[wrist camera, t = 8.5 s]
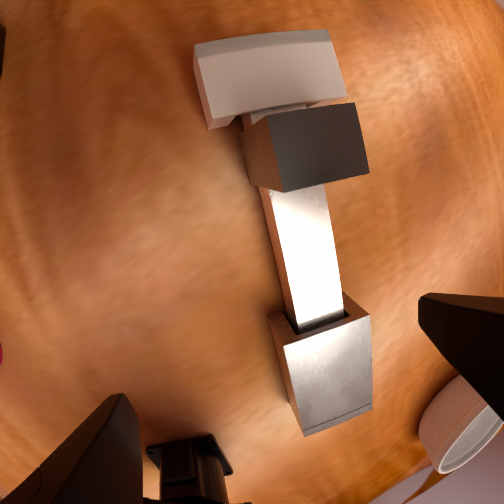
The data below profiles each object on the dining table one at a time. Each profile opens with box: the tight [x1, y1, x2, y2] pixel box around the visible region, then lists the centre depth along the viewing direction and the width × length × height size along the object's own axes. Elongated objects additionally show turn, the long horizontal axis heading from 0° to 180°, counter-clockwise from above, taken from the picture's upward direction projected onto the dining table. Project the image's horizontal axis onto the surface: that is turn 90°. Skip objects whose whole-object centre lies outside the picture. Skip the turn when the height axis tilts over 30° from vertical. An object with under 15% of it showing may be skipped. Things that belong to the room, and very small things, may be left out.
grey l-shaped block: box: [238, 103, 369, 335], centre depth 15 cm, size 16×4×7 cm, turn 14°
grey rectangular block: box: [193, 30, 347, 130], centre depth 15 cm, size 4×7×4 cm, turn 104°
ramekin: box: [419, 375, 504, 474], centre depth 26 cm, size 13×13×7 cm
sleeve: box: [268, 291, 372, 437], centre depth 21 cm, size 9×6×4 cm, turn 14°
